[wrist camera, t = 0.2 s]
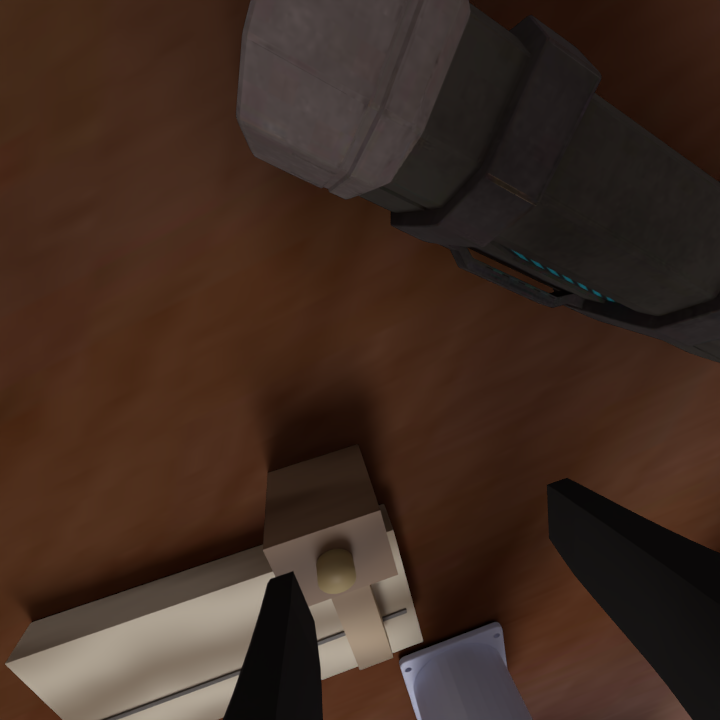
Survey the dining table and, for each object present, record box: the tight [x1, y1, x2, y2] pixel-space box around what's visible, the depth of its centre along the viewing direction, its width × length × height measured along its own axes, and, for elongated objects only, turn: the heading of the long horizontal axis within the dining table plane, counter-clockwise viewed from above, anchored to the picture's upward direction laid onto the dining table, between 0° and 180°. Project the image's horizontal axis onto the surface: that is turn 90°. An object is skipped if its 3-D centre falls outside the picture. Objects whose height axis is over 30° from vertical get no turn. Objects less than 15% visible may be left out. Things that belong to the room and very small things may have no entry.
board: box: [5, 504, 423, 720], centre depth 22 cm, size 10×20×2 cm, turn 104°
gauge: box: [263, 444, 398, 670], centre depth 19 cm, size 12×5×6 cm, turn 13°
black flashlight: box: [236, 0, 720, 363], centre depth 15 cm, size 11×7×30 cm
